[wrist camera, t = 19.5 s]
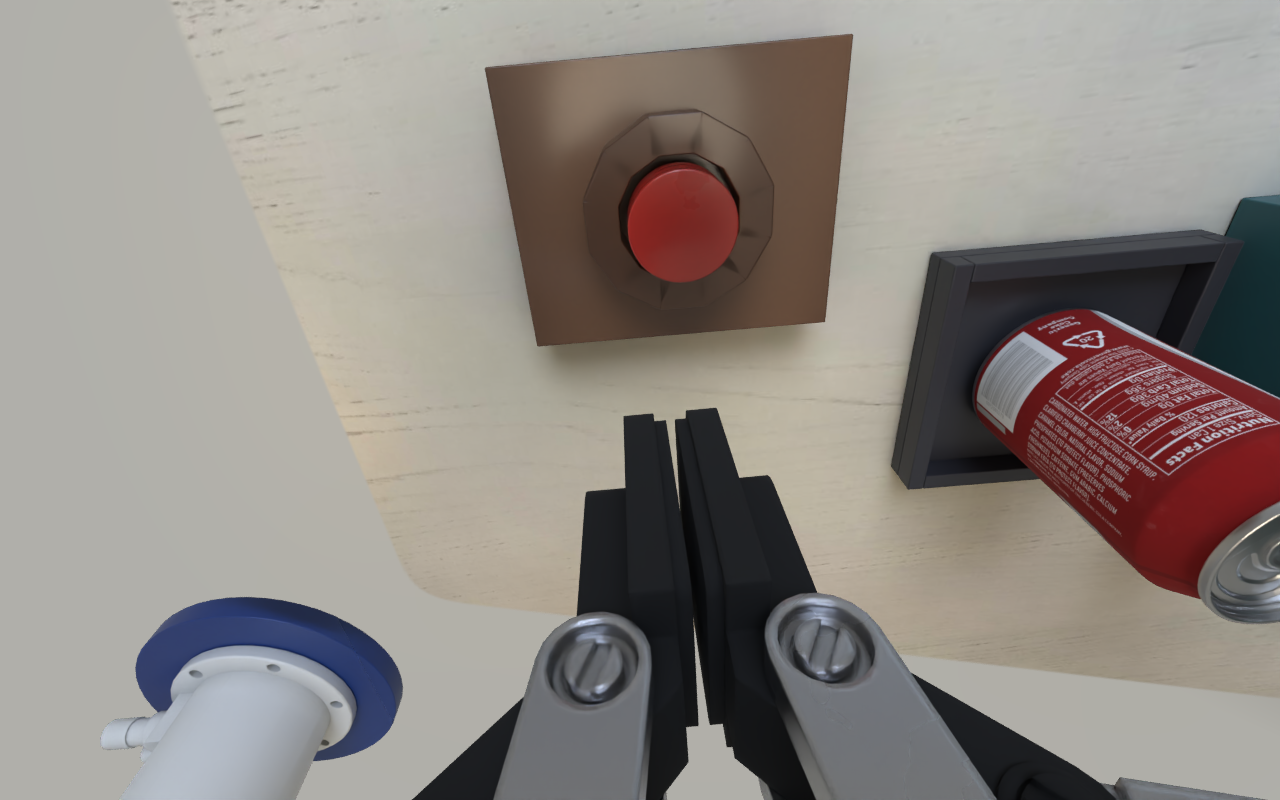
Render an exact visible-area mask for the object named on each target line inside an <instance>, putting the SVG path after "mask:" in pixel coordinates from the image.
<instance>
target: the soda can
mask: <svg viewBox="0 0 1280 800" xmlns="http://www.w3.org/2000/svg"><path fill="white" fill-rule="evenodd" d="M972 402H973V407H974V410H975V413H976V415H977V417H978V419H979V420H980V422H981V423H982V424H983V425H984V426H985V427H986V428H987V429H988V430H989V431H990V432H991V433H992V434H994V435H995V436H996V437H997V438H998V439H999V440H1000V441H1001V442H1002V443H1003V444H1004V445H1005V446H1006V447H1007V448H1008V449H1009V450H1010V451H1011V452H1012V453H1014V454H1015V455H1016V456H1017V457H1018V458H1019V459H1020V460H1021V461H1022V462H1023V463H1024V464H1025V465H1026V466H1027V467H1028V468H1029V469H1030V470H1031V471H1033V472H1034V473H1035V474H1036V475H1037V476H1038V477H1039V478H1040V479H1041V480H1042V481H1043V482H1044V483H1045V484H1046V485H1047V486H1048V487H1049V488H1050V489H1051V490H1053V491H1054V492H1055V493H1056V494H1057V495H1058V496H1059V497H1060V498H1061V499H1062V500H1063V501H1064V502H1065V503H1066V504H1067V505H1068V506H1069V507H1070V508H1072V509H1073V510H1074V511H1075V512H1076V513H1077V514H1078V515H1079V516H1080V517H1081V518H1082V519H1083V520H1084V521H1085V522H1086V523H1087V524H1088V525H1089V526H1090V527H1092V528H1093V529H1094V530H1095V531H1096V532H1097V533H1098V534H1099V535H1100V536H1101V537H1102V538H1103V539H1104V540H1105V541H1106V542H1107V543H1108V544H1109V545H1110V546H1112V547H1113V548H1114V549H1115V550H1116V551H1117V552H1118V553H1119V554H1120V555H1121V556H1122V557H1123V558H1124V559H1125V560H1126V561H1127V562H1128V563H1129V564H1131V565H1132V566H1133V567H1134V568H1135V569H1136V570H1137V571H1138V572H1139V573H1140V574H1141V575H1142V576H1143V577H1145V578H1146V579H1147V580H1148V581H1150V582H1152V583H1153V584H1155V585H1157V586H1159V587H1162V588H1164V589H1167V590H1170V591H1173V592H1177V593H1180V594H1184V595H1187V596H1191V597H1194V598H1198V599H1201V600H1202V602H1203V603H1204V604H1205V605H1206V606H1207V607H1208V608H1209V609H1210V610H1211V611H1212V612H1214V613H1215V614H1216V615H1218V616H1220V617H1221V618H1223V619H1226V620H1228V621H1232V622H1236V623H1243V624H1268V623H1276V622H1280V398H1278V397H1276V396H1274V395H1272V394H1270V393H1268V392H1266V391H1264V390H1262V389H1260V388H1258V387H1256V386H1254V385H1251V384H1249V383H1247V382H1245V381H1243V380H1241V379H1239V378H1237V377H1235V376H1233V375H1231V374H1229V373H1227V372H1224V371H1222V370H1220V369H1218V368H1216V367H1214V366H1212V365H1210V364H1208V363H1206V362H1204V361H1202V360H1200V359H1197V358H1195V357H1193V356H1191V355H1189V354H1187V353H1185V352H1183V351H1181V350H1179V349H1177V348H1175V347H1173V346H1170V345H1168V344H1166V343H1164V342H1162V341H1160V340H1158V339H1156V338H1154V337H1152V336H1150V335H1148V334H1146V333H1143V332H1141V331H1139V330H1137V329H1135V328H1133V327H1131V326H1129V325H1127V324H1125V323H1123V322H1121V321H1119V320H1117V319H1114V318H1112V317H1110V316H1108V315H1106V314H1104V313H1101V312H1099V311H1096V310H1092V309H1085V308H1068V309H1061V310H1056V311H1052V312H1049V313H1046V314H1043V315H1041V316H1038V317H1036V318H1033V319H1031V320H1029V321H1027V322H1026V323H1024V324H1022V325H1020V326H1019V327H1017V328H1016V329H1014V330H1013V331H1012V332H1010V333H1009V334H1008V335H1007V336H1005V337H1004V338H1003V339H1002V340H1001V341H1000V342H999V343H998V344H997V345H996V346H995V347H994V348H993V349H992V350H991V352H990V353H989V354H988V356H987V357H986V358H985V360H984V361H983V363H982V365H981V367H980V369H979V370H978V373H977V375H976V378H975V381H974V385H973V392H972Z"/></svg>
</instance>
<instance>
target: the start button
mask: <svg viewBox="0 0 1280 800" xmlns="http://www.w3.org/2000/svg"><path fill="white" fill-rule="evenodd" d="M627 227H628V238H629V243H630V246H631V249H632V251H633V253H634V255H635V257H636V259H637V260H638V261H639V263H640V264H641V265H642V266H643V267H644V268H645V269H646V270H647V271H648V272H650V273H651V274H652V275H654V276H656V277H658V278H660V279H663V280H666V281H670V282H678V283H682V282H692V281H695V280H699V279H701V278H704V277H706V276H708V275H709V274H711V273H713V272H714V271H715V270H717V269H718V268H719V267H720V266H721V265H722V264H723V263H724V262H725V260H726V259H727V258H728V256H729V255H730V253H731V251H732V249H733V247H734V245H735V242H736V239H737V235H738V227H739V218H738V211H737V207H736V204H735V201H734V199H733V197H732V195H731V194H730V192H729V191H728V189H727V188H726V187H725V186H724V185H723V184H722V183H721V182H720V181H719V180H718V179H717V178H716V177H715V176H714V175H713V174H712V173H711V172H710V171H708V170H707V169H705V168H703V167H701V166H699V165H696V164H693V163H687V162H674V163H668V164H665V165H662V166H660V167H658V168H656V169H654V170H653V171H651V172H650V173H648V174H647V175H646V176H645V177H644V178H643V179H642V180H641V181H640V182H639V184H638V185H637V186H636V188H635V190H634V192H633V193H632V196H631V198H630V201H629V205H628V211H627Z"/></svg>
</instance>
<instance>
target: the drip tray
mask: <svg viewBox="0 0 1280 800" xmlns="http://www.w3.org/2000/svg"><path fill="white" fill-rule="evenodd" d="M1243 244H1244V241H1242V240H1238V239H1234V238H1230V237H1226V236H1223V235H1219V234H1216V233H1212V232H1208V231H1204V230H1191V231H1179V232H1168V233H1156V234H1144V235H1133V236H1121V237H1110V238H1098V239H1087V240H1075V241H1064V242H1052V243H1040V244H1029V245H1017V246H1006V247H994V248H983V249H971V250H960V251H948V252H936V253H932V254H931V259H930V264H929V269H928V275H927V280H926V285H925V291H924V296H923V301H922V306H921V312H920V317H919V322H918V328H917V333H916V338H915V343H914V349H913V354H912V359H911V365H910V370H909V375H908V380H907V386H906V391H905V396H904V402H903V407H902V412H901V417H900V423H899V428H898V433H897V438H896V444H895V449H894V454H893V460H892V465H891V467H892V468H893V470H894V471H895V472H896V474H897V475H898V476H899V478H900V479H901V481H902V482H903V483H904V485H905V486H906V488H907V489H921V488H935V487H948V486H960V485H972V484H985V483H997V482H1009V481H1021V480H1034V479H1040V478H1039V477H1038V476H1037V475H1036V474H1035V473H1034V472H1033V471H1031V470H1030V469H1029V468H1028V467H1027V466H1026V465H1025V464H1024V463H1023V462H1022V461H1021V460H1020V459H1019V458H1018V457H1017V456H1016V455H1015V454H1014V453H1012V452H1011V451H1010V450H1009V449H1008V448H1007V447H1006V446H1005V445H1004V444H1003V443H1002V442H1001V441H1000V440H999V439H998V438H997V437H996V436H995V435H994V434H992V433H991V432H990V431H989V430H988V429H987V428H986V427H985V426H984V425H983V424H982V423H981V422H980V420H979V419H978V417H977V415H976V413H975V410H974V407H973V402H972V392H973V385H974V381H975V378H976V375H977V373H978V370H979V369H980V367H981V365H982V363H983V361H984V360H985V358H986V357H987V356H988V354H989V353H990V352H991V350H992V349H993V348H994V347H995V346H996V345H997V344H998V343H999V342H1000V341H1001V340H1002V339H1003V338H1004V337H1005V336H1007V335H1008V334H1009V333H1010V332H1012V331H1013V330H1014V329H1016V328H1017V327H1019V326H1020V325H1022V324H1024V323H1026V322H1027V321H1029V320H1031V319H1033V318H1036V317H1038V316H1041V315H1043V314H1046V313H1049V312H1052V311H1056V310H1061V309H1068V308H1085V309H1092V310H1096V311H1099V312H1101V313H1104V314H1106V315H1108V316H1110V317H1112V318H1114V319H1117V320H1119V321H1121V322H1123V323H1125V324H1127V325H1129V326H1131V327H1133V328H1135V329H1137V330H1139V331H1141V332H1143V333H1146V334H1148V335H1150V336H1152V337H1154V338H1156V339H1158V340H1160V341H1162V342H1164V343H1166V344H1168V345H1170V346H1173V347H1175V348H1177V349H1179V350H1181V351H1183V352H1185V353H1187V354H1189V355H1192V352H1193V350H1194V348H1195V346H1196V344H1197V342H1198V340H1199V338H1200V335H1201V333H1202V331H1203V329H1204V327H1205V325H1206V323H1207V321H1208V319H1209V316H1210V314H1211V312H1212V310H1213V308H1214V306H1215V304H1216V302H1217V299H1218V297H1219V295H1220V293H1221V291H1222V289H1223V287H1224V285H1225V283H1226V280H1227V278H1228V276H1229V274H1230V272H1231V270H1232V268H1233V266H1234V263H1235V261H1236V259H1237V257H1238V255H1239V253H1240V251H1241V249H1242V247H1243Z"/></svg>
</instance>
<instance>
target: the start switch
mask: <svg viewBox="0 0 1280 800" xmlns="http://www.w3.org/2000/svg"><path fill="white" fill-rule="evenodd" d="M852 40H853V34H844V35H833V36H823V37H812V38H801V39H790V40H779V41H768V42H757V43H746V44H735V45H724V46H713V47H702V48H691V49H680V50H669V51H658V52H647V53H637V54H626V55H615V56H604V57H593V58H582V59H571V60H560V61H549V62H538V63H527V64H516V65H505V66H494V67H486V68H485V72H486V77H487V82H488V88H489V93H490V98H491V103H492V109H493V114H494V119H495V125H496V130H497V135H498V140H499V146H500V151H501V156H502V162H503V167H504V172H505V178H506V183H507V188H508V193H509V199H510V204H511V209H512V215H513V220H514V225H515V230H516V236H517V241H518V246H519V252H520V257H521V262H522V267H523V273H524V278H525V283H526V289H527V294H528V299H529V304H530V310H531V315H532V320H533V326H534V331H535V336H536V342H537V346H549V345H560V344H572V343H584V342H596V341H607V340H619V339H631V338H643V337H654V336H666V335H678V334H690V333H701V332H713V331H725V330H736V329H748V328H760V327H772V326H783V325H795V324H807V323H819V322H825V317H826V307H827V296H828V286H829V276H830V266H831V255H832V245H833V235H834V225H835V214H836V204H837V194H838V184H839V173H840V163H841V153H842V143H843V132H844V122H845V112H846V102H847V91H848V81H849V71H850V61H851V50H852ZM674 162H687V163H693V164H696V165H699V166H701V167H703V168H705V169H707V170H708V171H710V172H711V173H712V174H713V175H714V176H715V177H716V178H717V179H718V180H719V181H720V182H721V183H722V184H723V185H724V186H725V187H726V188H727V189H728V191H729V192H730V194H731V195H732V197H733V199H734V201H735V204H736V207H737V211H738V218H739V227H738V235H737V239H736V242H735V245H734V247H733V249H732V251H731V253H730V255H729V256H728V258H727V259H726V260H725V262H724V263H723V264H722V265H721V266H720V267H719V268H718V269H717V270H715V271H714V272H713V273H711V274H709V275H708V276H706V277H704V278H701V279H699V280H695V281H692V282H682V283H678V282H670V281H666V280H663V279H660V278H658V277H656V276H654V275H652V274H651V273H650V272H648V271H647V270H646V269H645V268H644V267H643V266H642V265H641V264H640V263H639V261H638V260H637V259H636V257H635V255H634V253H633V251H632V249H631V246H630V243H629V238H628V227H627V211H628V205H629V201H630V198H631V196H632V193H633V192H634V190H635V188H636V186H637V185H638V184H639V182H640V181H641V180H642V179H643V178H644V177H645V176H646V175H647V174H648V173H650V172H651V171H653V170H654V169H656V168H658V167H660V166H662V165H665V164H668V163H674Z"/></svg>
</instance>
